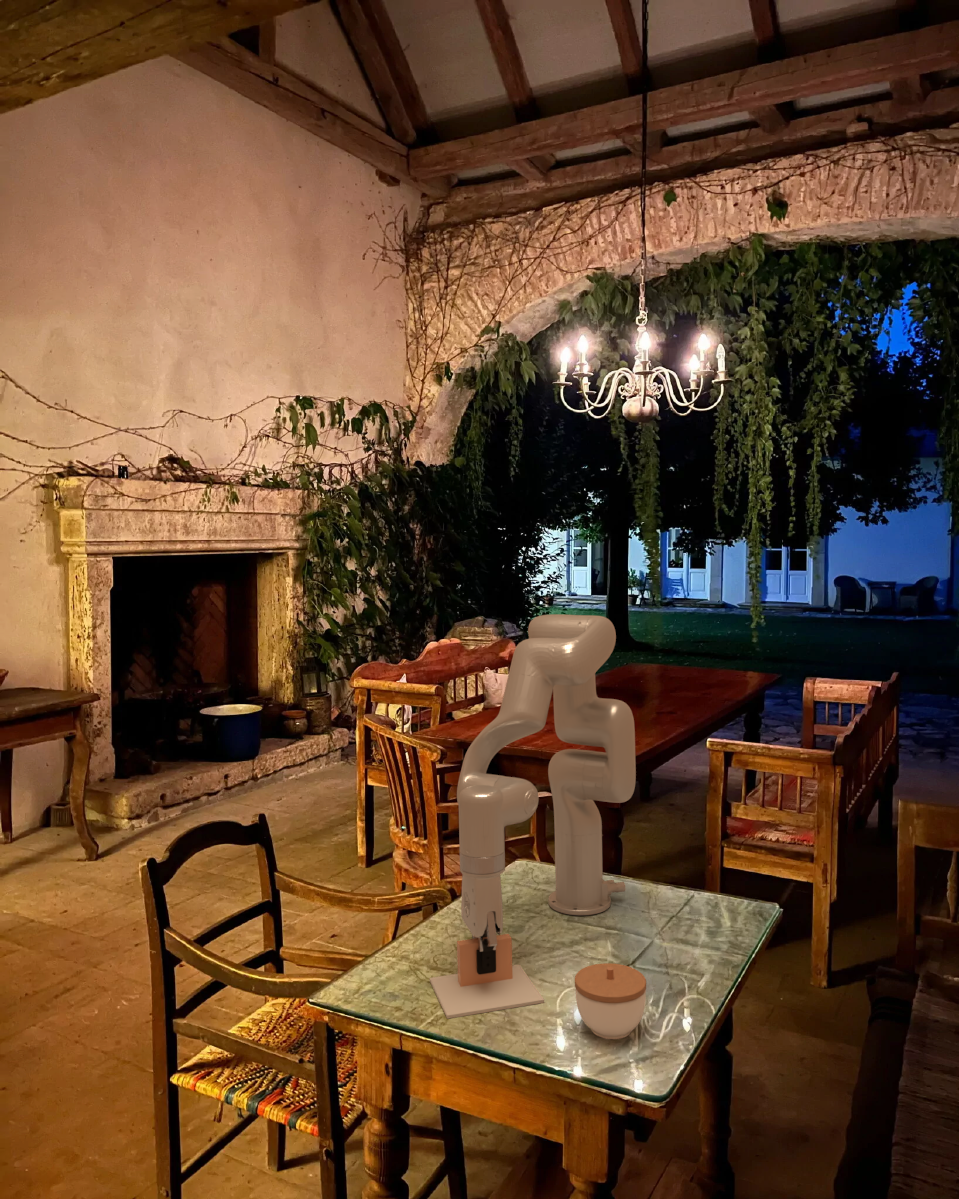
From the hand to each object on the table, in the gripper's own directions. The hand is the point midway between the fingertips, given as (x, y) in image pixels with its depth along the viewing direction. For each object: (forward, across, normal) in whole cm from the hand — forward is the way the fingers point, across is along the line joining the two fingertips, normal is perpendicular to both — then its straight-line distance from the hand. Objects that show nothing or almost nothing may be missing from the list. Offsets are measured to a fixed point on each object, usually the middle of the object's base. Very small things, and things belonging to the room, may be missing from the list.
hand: (484, 968), depth 154 cm
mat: (+3, +3, -1) cm, 4 cm away
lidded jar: (+3, +20, +14) cm, 25 cm away
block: (+2, 0, 0) cm, 2 cm away
